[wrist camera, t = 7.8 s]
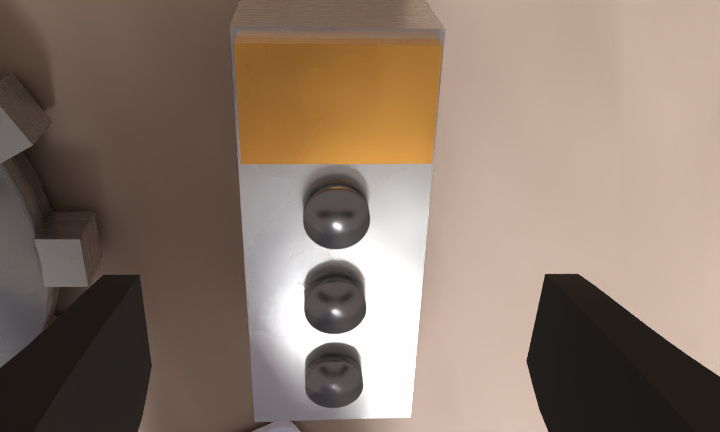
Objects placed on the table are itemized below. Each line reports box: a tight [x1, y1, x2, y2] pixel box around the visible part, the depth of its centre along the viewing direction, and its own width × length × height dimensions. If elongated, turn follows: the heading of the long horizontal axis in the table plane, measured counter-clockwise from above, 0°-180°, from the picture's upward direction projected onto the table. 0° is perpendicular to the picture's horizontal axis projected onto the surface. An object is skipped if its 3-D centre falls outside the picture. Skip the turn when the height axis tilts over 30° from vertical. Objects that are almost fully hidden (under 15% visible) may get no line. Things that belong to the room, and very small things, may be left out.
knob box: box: [230, 0, 445, 422], centre depth 17 cm, size 10×4×5 cm, turn 178°
